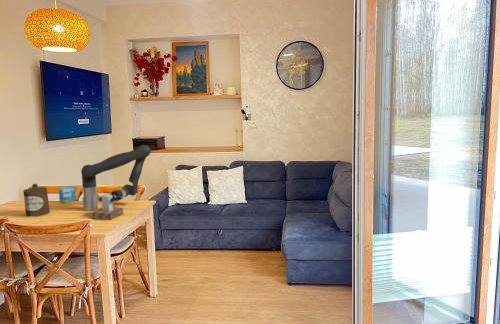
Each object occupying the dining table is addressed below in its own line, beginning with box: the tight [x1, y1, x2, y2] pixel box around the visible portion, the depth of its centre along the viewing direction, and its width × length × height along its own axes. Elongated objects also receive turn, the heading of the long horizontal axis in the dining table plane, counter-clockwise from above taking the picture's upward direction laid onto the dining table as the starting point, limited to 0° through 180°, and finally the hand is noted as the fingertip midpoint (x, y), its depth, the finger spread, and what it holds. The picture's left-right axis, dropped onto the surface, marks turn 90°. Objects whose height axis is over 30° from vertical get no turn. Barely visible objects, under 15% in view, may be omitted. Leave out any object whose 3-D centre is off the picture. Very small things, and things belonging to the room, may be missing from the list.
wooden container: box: [22, 183, 50, 217], centre depth 264 cm, size 15×15×22 cm
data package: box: [58, 185, 77, 204], centre depth 301 cm, size 12×4×12 cm, turn 155°
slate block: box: [101, 194, 114, 211], centre depth 253 cm, size 5×5×10 cm
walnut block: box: [92, 207, 124, 221], centre depth 254 cm, size 14×14×5 cm
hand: (105, 200), depth 251 cm, fingers open, 8 cm apart
